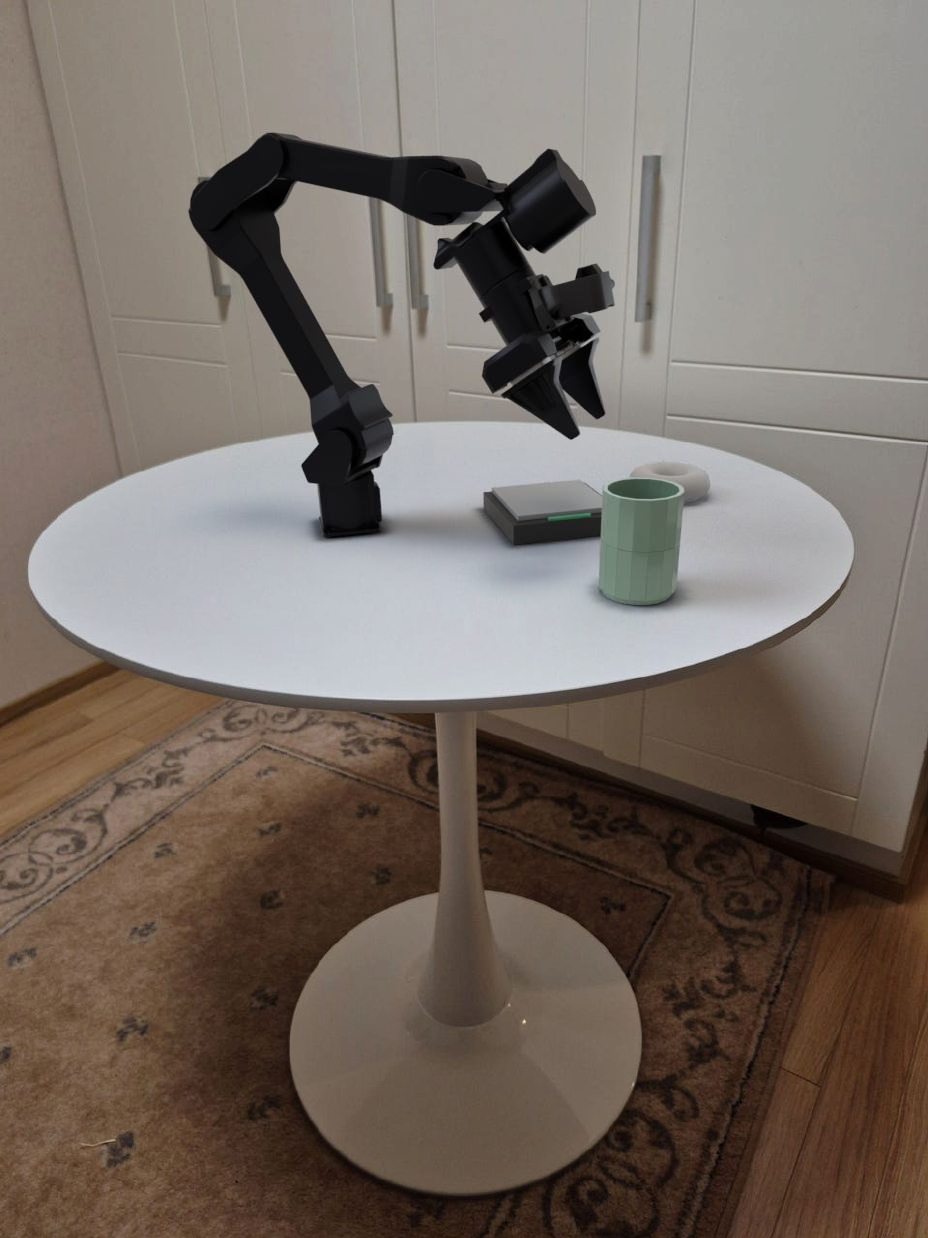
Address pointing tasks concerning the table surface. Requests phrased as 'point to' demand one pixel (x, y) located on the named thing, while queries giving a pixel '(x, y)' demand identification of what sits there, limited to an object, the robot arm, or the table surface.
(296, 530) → the table surface
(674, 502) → the pale green cup
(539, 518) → the scale
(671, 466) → the donut
